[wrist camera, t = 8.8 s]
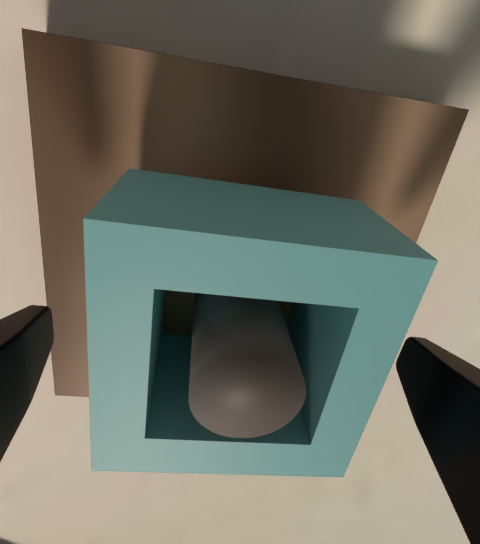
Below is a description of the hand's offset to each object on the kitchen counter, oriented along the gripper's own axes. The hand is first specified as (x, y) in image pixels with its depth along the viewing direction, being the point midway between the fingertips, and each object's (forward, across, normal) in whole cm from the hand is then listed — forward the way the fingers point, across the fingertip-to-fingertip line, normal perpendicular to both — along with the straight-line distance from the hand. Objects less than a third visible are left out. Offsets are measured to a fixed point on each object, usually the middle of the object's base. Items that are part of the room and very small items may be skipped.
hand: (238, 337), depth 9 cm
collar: (+2, 0, 0) cm, 2 cm away
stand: (+5, 0, 0) cm, 5 cm away
